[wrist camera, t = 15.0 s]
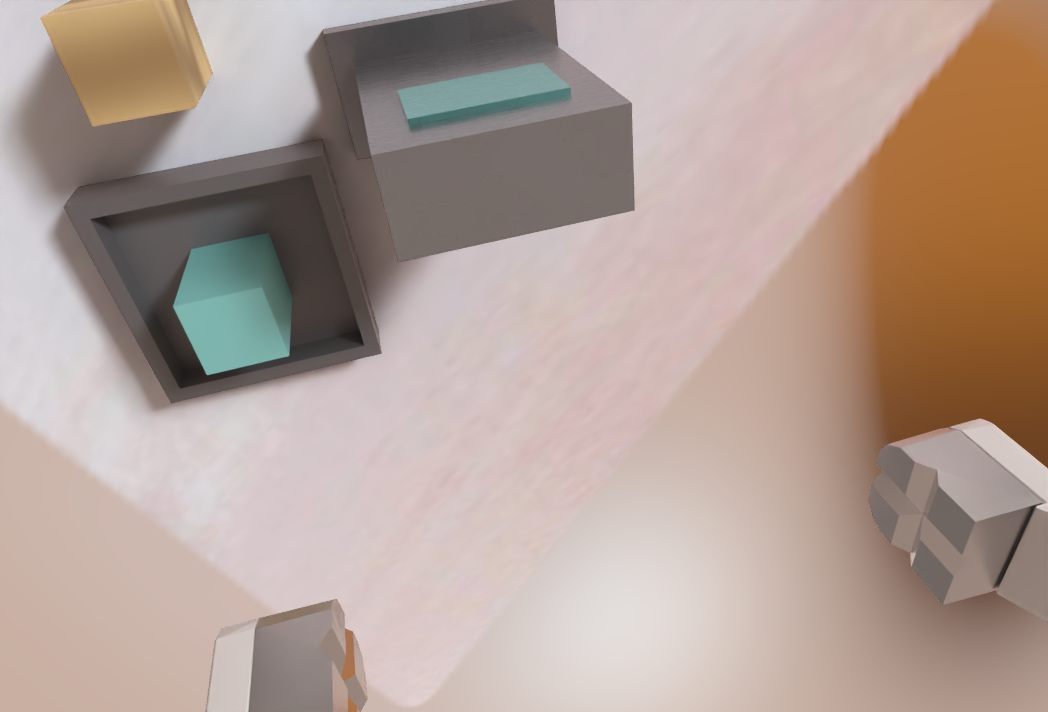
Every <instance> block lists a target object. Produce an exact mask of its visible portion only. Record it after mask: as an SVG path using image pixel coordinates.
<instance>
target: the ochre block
mask: <svg viewBox="0 0 1048 712" xmlns="http://www.w3.org/2000/svg"><path fill="white" fill-rule="evenodd" d="M41 21H42V23H43V25H44V27H45V29H46V31H47V33H48V35H49V37H50V39H51V41H52V43H53V45H54V48H55V50H56V52H57V54H58V56H59V58H60V60H61V62H62V64H63V66H64V68H65V70H66V73H67V75H68V77H69V79H70V81H71V83H72V85H73V87H74V89H75V91H76V93H77V95H78V97H79V100H80V102H81V104H82V106H83V108H84V110H85V112H86V114H87V116H88V118H89V120H90V122H91V124H92V127H94V126H99V125H105V124H110V123H116V122H121V121H127V120H132V119H138V118H143V117H149V116H154V115H160V114H165V113H171V112H176V111H182V110H187V109H193V108H196V106H197V104H198V102H199V100H200V98H201V96H202V94H203V92H204V90H205V88H206V86H207V84H208V82H209V80H210V78H211V76H212V73H213V72H212V69H211V66H210V64H209V61H208V58H207V55H206V53H205V50H204V47H203V44H202V42H201V39H200V36H199V33H198V30H197V28H196V25H195V22H194V19H193V17H192V14H191V11H190V8H189V6H188V3H187V0H71V1H69V2H68V3H66V4H64V5H62V6H60V7H59V8H57V9H55V10H53V11H52V12H50V13H48V14H46V15H44V16H43V17H41Z"/></svg>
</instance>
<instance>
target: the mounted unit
mask: <svg viewBox="0 0 1048 712" xmlns="http://www.w3.org/2000/svg"><path fill="white" fill-rule="evenodd" d="M323 34H324V38H325V42H326V45H327V49H328V53H329V56H330V60H331V64H332V68H333V71H334V75H335V79H336V83H337V86H338V90H339V94H340V97H341V101H342V105H343V109H344V112H345V116H346V120H347V123H348V127H349V131H350V135H351V138H352V142H353V146H354V149H355V153H356V157H357V160H360V159H365V158H370V157H371V158H372V162H373V165H374V169H375V173H376V177H377V181H378V185H379V189H380V193H381V197H382V201H383V205H384V208H385V212H386V216H387V220H388V224H389V228H390V232H391V236H392V240H393V244H394V247H395V251H396V255H397V259H398V262H403V261H407V260H412V259H416V258H421V257H425V256H430V255H434V254H439V253H443V252H448V251H452V250H457V249H461V248H466V247H471V246H475V245H480V244H484V243H489V242H493V241H498V240H502V239H507V238H511V237H516V236H520V235H525V234H529V233H534V232H539V231H543V230H548V229H552V228H557V227H561V226H566V225H570V224H575V223H579V222H584V221H588V220H593V219H597V218H602V217H606V216H611V215H616V214H620V213H625V212H629V211H634V210H635V207H634V171H633V135H632V103H631V102H630V101H629V100H627V99H626V98H625V97H623V96H622V95H621V94H619V93H618V92H617V91H615V90H614V89H613V88H611V87H610V86H609V85H608V84H606V83H605V82H604V81H602V80H601V79H600V78H598V77H597V76H596V75H594V74H593V73H592V72H590V71H589V70H588V69H587V68H585V67H584V66H583V65H581V64H580V63H579V62H577V61H576V60H575V59H573V58H572V57H571V56H569V55H568V54H567V53H566V52H564V51H563V50H562V49H560V48H559V47H558V40H557V28H556V17H555V5H554V0H486V1H480V2H475V3H469V4H463V5H458V6H452V7H446V8H441V9H435V10H430V11H424V12H418V13H413V14H407V15H401V16H396V17H390V18H385V19H379V20H373V21H368V22H362V23H356V24H351V25H345V26H340V27H334V28H328V29H323Z"/></svg>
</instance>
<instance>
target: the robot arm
mask: <svg viewBox="0 0 1048 712" xmlns="http://www.w3.org/2000/svg"><path fill="white" fill-rule="evenodd" d="M877 465H878V466H879V467H880V468H881V469H882V470H883V472H882V473H881V475H879V477H878V478H877V479H876V480H875V481H874V482H873V483H872V485H871V490H870V495H869V504H870V508H871V512H872V516H873V519H874V521H875V522H876V524H877V526H878V528H879V530H880V531H881V532H882V534H883V535H884V536H885V537H886V538H887V540H888V541H889V542H890V543H891V544H892V545H894V546H896V547H899V548H901V549H903V550H905V551H907V552H909V553H910V554H911V568H912V569H913V571H914V572H915V573H916V574H917V575H918V576H919V578H920V579H921V580H922V581H923V582H924V583H925V585H926V586H927V587H928V588H929V589H930V590H931V592H932V593H933V594H934V595H935V596H936V597H937V599H938V600H939V601H940V602H941V603H942V605H944V604H948V603H952V602H955V601H959V600H962V599H966V598H969V597H973V596H977V595H980V594H983V593H987V592H991V591H994V590H997V594H999V595H1000V596H1002V597H1004V598H1006V599H1007V600H1009V601H1011V602H1013V603H1014V604H1016V605H1018V606H1020V607H1021V608H1023V609H1025V610H1027V611H1028V612H1030V613H1032V614H1034V615H1036V616H1037V617H1039V618H1041V619H1043V620H1045V621H1046V622H1048V469H1047V468H1046V467H1045V466H1044V465H1043V464H1041V463H1040V462H1039V461H1038V460H1036V459H1035V458H1034V457H1033V456H1032V455H1030V454H1029V453H1028V452H1027V451H1026V450H1024V449H1023V448H1022V447H1021V446H1019V445H1018V444H1017V443H1016V442H1015V441H1013V440H1012V439H1011V438H1010V437H1008V436H1007V435H1006V434H1005V433H1004V432H1002V431H1001V430H1000V429H998V428H997V427H996V426H995V425H994V424H992V423H990V422H988V421H985V420H983V419H977V420H973V421H969V422H966V423H963V424H959V425H955V426H952V427H949V428H942V429H938V430H935V431H931V432H928V433H925V434H921V435H918V436H914V437H911V438H908V439H904V440H901V441H897V442H894V443H891V444H887V445H886V446H885V447H884V448H883V449H882V450H881V451H880V453H879V457H878V461H877ZM366 701H367V688H366V677H365V671H364V665H363V659H362V655H361V652H360V648H359V645H358V642H357V640H356V637H355V635H354V633H353V632H352V631H350V630H347V629H345V620H344V612H343V610H342V608H341V606H340V604H339V602H338V600H337V599H334V600H330V601H326V602H322V603H318V604H314V605H310V606H306V607H302V608H298V609H294V610H290V611H286V612H282V613H278V614H274V615H270V616H266V617H262V618H258V619H255V620H251V621H248V622H244V623H240V624H236V625H233V626H229V627H225V628H221V630H220V632H219V634H218V636H217V638H216V640H215V644H214V651H213V659H212V666H211V674H210V681H209V689H208V697H207V704H206V711H205V712H361V710H362V708H363V706H364V705H365V703H366Z"/></svg>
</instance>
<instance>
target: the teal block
mask: <svg viewBox="0 0 1048 712" xmlns="http://www.w3.org/2000/svg"><path fill="white" fill-rule="evenodd" d="M173 308H174V310H175V312H176V314H177V316H178V318H179V320H180V322H181V324H182V326H183V328H184V330H185V332H186V334H187V336H188V338H189V340H190V342H191V344H192V346H193V348H194V350H195V352H196V354H197V356H198V358H199V360H200V362H201V364H202V366H203V368H204V370H205V372H206V374H207V375H210V374H215V373H219V372H223V371H227V370H232V369H236V368H240V367H244V366H249V365H253V364H257V363H262V362H266V361H270V360H274V359H279V358H283V357H287V356H289V350H290V332H291V313H292V294H291V292H290V289H289V286H288V284H287V281H286V278H285V276H284V273H283V270H282V267H281V265H280V262H279V259H278V257H277V254H276V251H275V249H274V246H273V243H272V241H271V238H270V235H269V233H265V234H260V235H256V236H251V237H246V238H242V239H237V240H232V241H227V242H223V243H218V244H213V245H209V246H204V247H199V248H195V249H191V252H190V255H189V258H188V262H187V265H186V268H185V271H184V274H183V277H182V280H181V283H180V287H179V290H178V293H177V296H176V299H175V302H174V305H173Z"/></svg>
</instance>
